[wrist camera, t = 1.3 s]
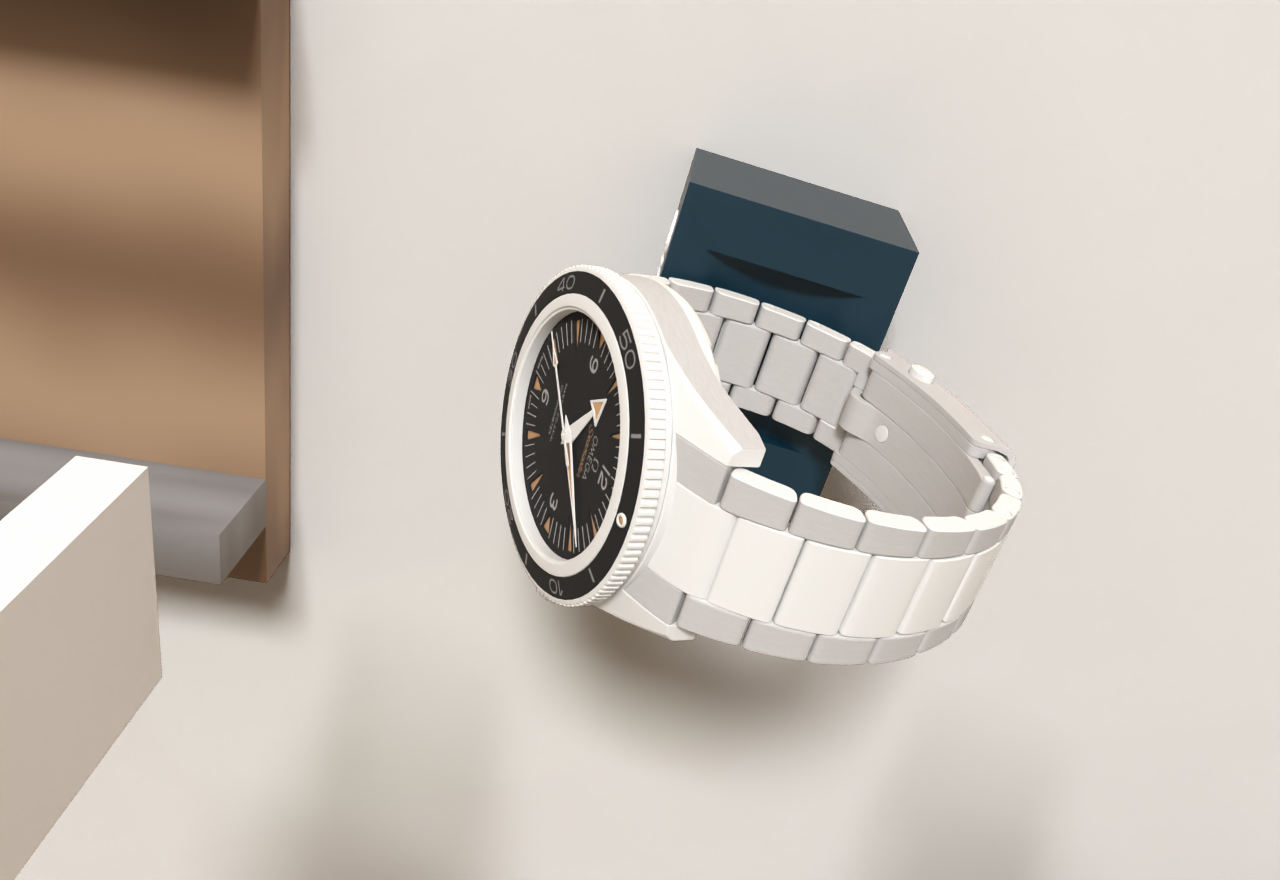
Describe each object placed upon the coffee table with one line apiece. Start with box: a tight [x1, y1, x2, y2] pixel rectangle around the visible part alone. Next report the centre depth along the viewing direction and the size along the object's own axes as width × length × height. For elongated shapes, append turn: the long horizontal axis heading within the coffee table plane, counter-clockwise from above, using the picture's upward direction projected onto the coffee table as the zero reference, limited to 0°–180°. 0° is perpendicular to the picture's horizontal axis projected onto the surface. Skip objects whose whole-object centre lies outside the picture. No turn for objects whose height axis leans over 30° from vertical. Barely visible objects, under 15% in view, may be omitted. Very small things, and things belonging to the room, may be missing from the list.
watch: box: [501, 148, 1023, 665], centre depth 20 cm, size 6×8×11 cm
